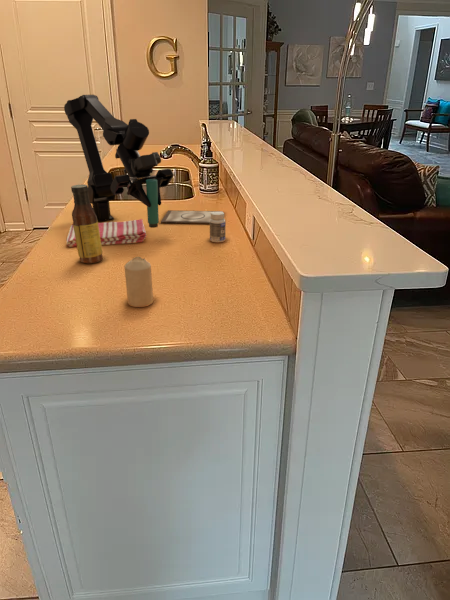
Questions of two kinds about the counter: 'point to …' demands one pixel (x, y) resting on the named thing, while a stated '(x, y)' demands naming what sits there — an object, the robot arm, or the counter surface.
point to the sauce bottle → (85, 226)
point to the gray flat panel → (187, 217)
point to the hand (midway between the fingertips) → (155, 205)
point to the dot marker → (152, 202)
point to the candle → (139, 282)
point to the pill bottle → (217, 227)
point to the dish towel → (115, 233)
